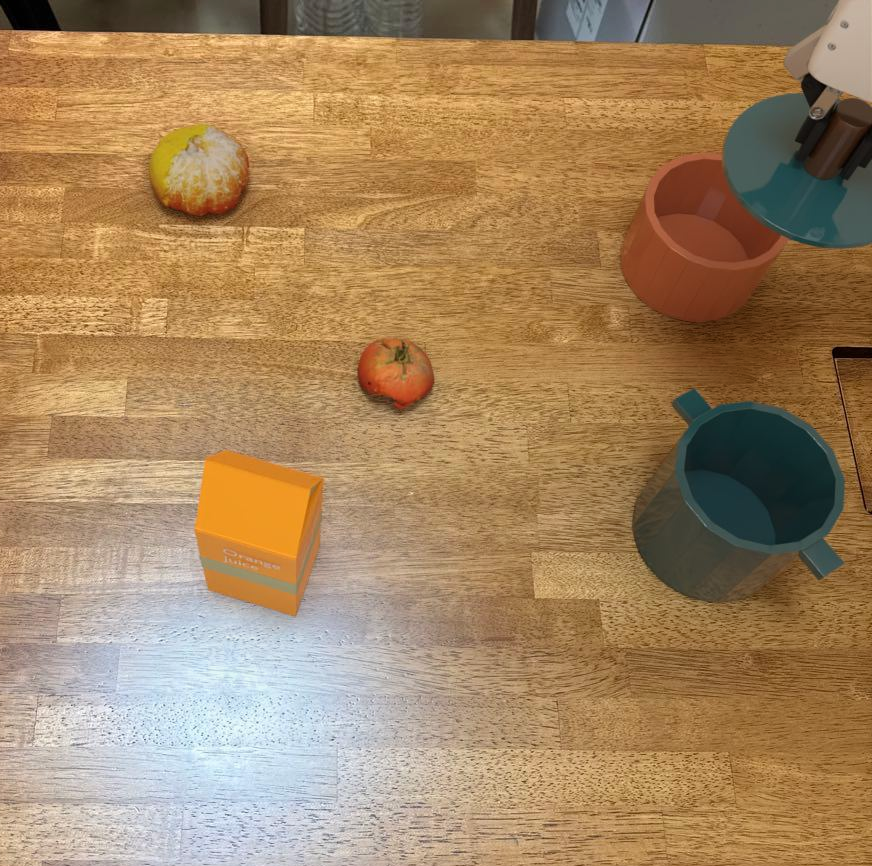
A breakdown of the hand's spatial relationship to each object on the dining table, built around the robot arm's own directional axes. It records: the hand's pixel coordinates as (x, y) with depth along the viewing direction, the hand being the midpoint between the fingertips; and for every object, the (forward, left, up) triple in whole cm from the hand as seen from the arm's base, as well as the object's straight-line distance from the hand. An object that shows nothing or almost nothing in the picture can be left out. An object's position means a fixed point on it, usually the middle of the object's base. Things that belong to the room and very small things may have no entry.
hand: (826, 156), depth 81 cm
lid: (0, 0, -2) cm, 2 cm away
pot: (+12, +16, -29) cm, 35 cm away
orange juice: (+51, -3, -29) cm, 59 cm away
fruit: (+34, -46, -29) cm, 64 cm away
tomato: (+29, -14, -29) cm, 43 cm away
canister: (-7, -10, -29) cm, 32 cm away
